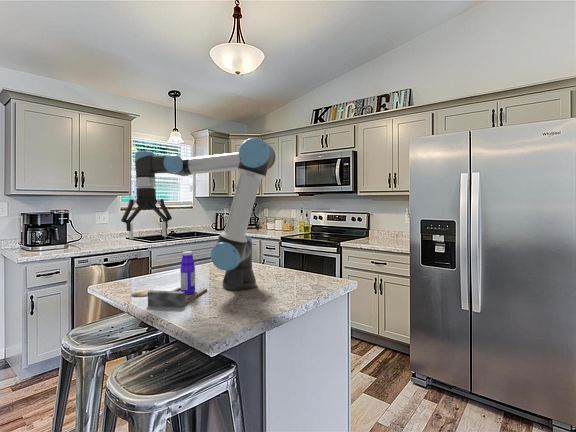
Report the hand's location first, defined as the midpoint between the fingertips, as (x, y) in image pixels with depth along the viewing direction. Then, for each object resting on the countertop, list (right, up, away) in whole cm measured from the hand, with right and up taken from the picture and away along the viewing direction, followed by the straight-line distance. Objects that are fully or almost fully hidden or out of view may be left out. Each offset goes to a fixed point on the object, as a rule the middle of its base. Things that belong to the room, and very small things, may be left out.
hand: (148, 237), depth 142 cm
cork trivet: (-1, -23, -3) cm, 24 cm away
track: (+17, -23, -10) cm, 30 cm away
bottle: (+18, -23, -3) cm, 29 cm away
